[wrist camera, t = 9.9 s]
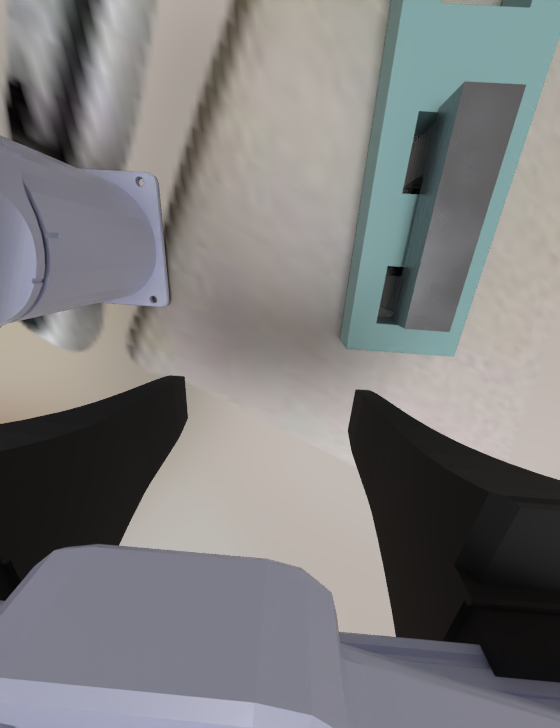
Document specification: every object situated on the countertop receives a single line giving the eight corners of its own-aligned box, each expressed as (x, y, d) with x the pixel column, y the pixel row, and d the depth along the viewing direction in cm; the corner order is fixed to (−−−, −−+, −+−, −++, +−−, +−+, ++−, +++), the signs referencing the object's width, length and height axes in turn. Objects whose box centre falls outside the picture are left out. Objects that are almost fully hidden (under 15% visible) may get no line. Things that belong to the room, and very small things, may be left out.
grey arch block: (376, 311, 19) (404, 328, 14) (411, 136, 15) (464, 81, 10) (410, 313, 19) (449, 332, 14) (454, 138, 15) (526, 84, 10)
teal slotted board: (434, 344, 19) (453, 356, 17) (339, 338, 20) (346, 348, 17) (568, -109, 12) (637, -202, 9) (408, -116, 12) (437, -208, 9)
